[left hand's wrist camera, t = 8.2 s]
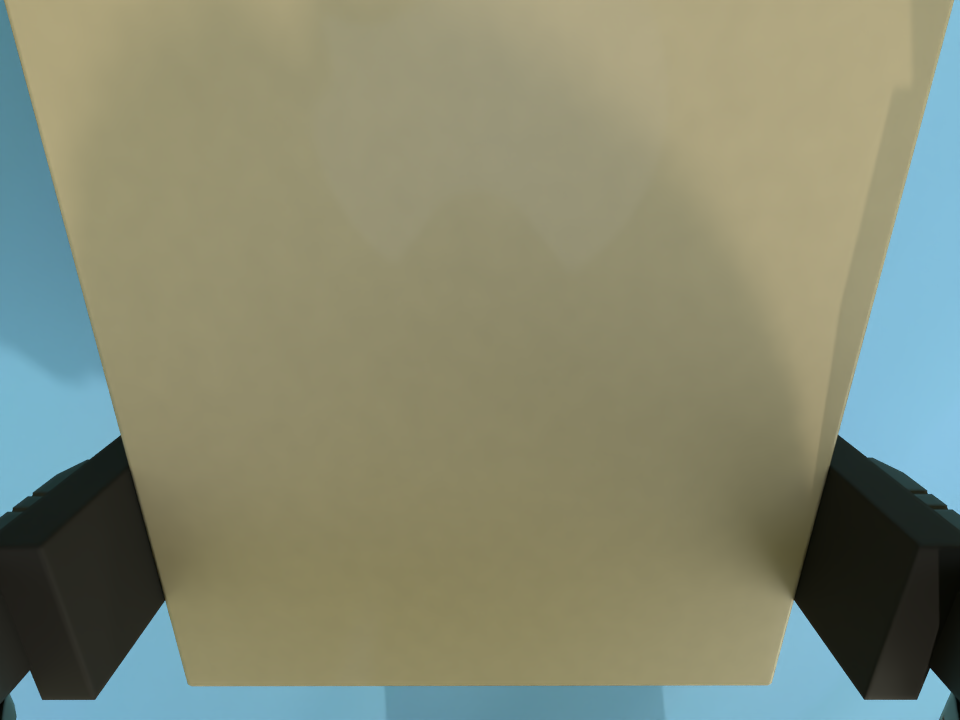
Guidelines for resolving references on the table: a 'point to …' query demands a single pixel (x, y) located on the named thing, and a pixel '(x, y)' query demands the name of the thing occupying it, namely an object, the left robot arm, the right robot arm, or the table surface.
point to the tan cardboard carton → (479, 315)
